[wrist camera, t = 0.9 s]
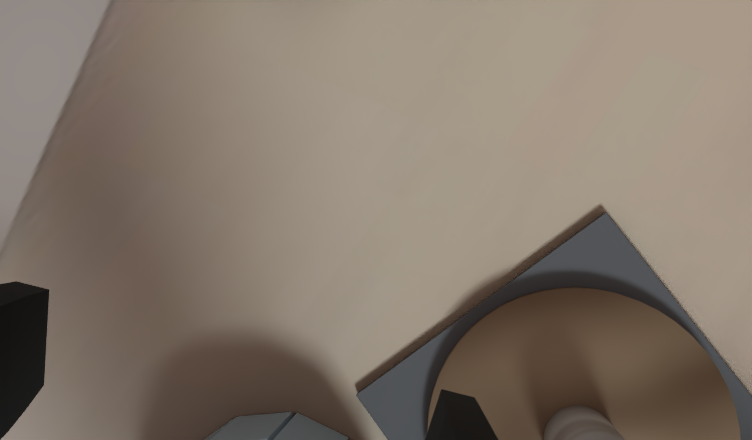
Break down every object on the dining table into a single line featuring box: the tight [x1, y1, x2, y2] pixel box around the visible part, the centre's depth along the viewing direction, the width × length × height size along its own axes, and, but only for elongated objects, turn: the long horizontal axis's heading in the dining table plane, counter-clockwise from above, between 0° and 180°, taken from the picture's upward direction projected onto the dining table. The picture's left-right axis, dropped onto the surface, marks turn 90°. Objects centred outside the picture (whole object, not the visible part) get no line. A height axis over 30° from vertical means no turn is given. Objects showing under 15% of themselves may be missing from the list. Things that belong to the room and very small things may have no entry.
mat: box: [356, 213, 752, 440], centre depth 27 cm, size 14×14×1 cm
